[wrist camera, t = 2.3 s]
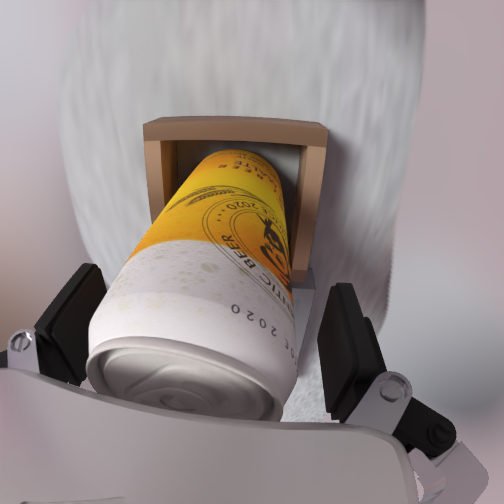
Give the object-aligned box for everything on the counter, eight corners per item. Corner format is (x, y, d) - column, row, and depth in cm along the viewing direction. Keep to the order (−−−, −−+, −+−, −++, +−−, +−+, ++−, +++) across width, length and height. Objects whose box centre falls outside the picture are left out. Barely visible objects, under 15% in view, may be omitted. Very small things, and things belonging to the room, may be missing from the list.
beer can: (299, 199, 19) (339, 420, 7) (230, 244, 21) (189, 450, 9) (243, 127, 17) (162, 283, 4) (174, 183, 19) (46, 367, 6)
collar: (161, 117, 16) (142, 124, 14) (319, 122, 16) (328, 130, 14) (170, 248, 22) (159, 271, 19) (300, 257, 22) (304, 282, 19)
